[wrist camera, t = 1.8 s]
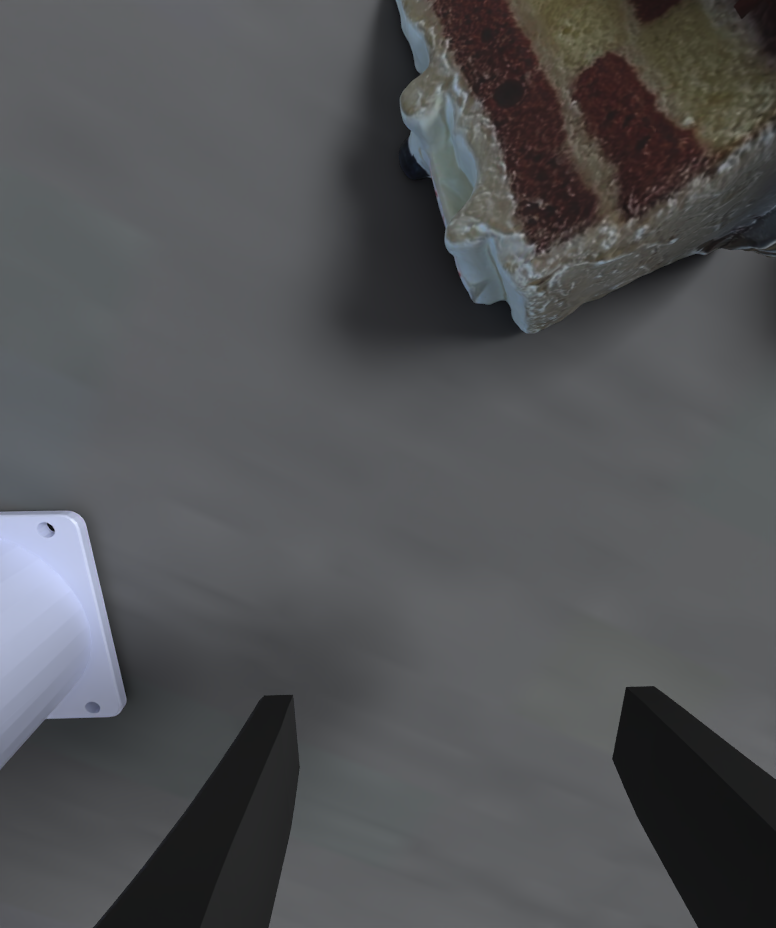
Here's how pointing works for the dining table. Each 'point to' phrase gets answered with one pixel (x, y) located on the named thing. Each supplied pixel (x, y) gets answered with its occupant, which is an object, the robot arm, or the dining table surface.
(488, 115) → the chocolate cake
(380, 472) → the dining table surface
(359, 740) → the dining table surface
